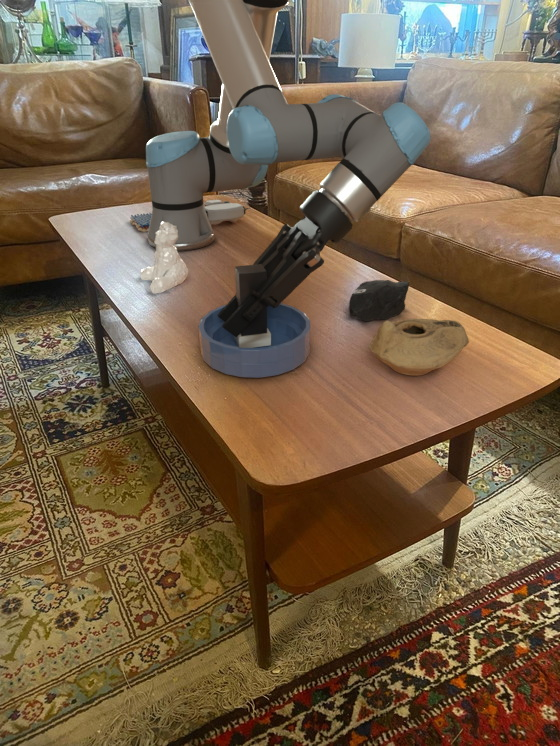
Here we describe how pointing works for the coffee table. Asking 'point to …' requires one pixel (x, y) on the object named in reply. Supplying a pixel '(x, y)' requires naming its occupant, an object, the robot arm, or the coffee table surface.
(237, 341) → the eraser
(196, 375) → the coffee table surface
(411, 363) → the oil lamp
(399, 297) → the mineral
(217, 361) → the bowl
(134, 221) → the woven mat
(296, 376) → the coffee table surface
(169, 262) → the white creature statuette
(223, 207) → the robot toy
